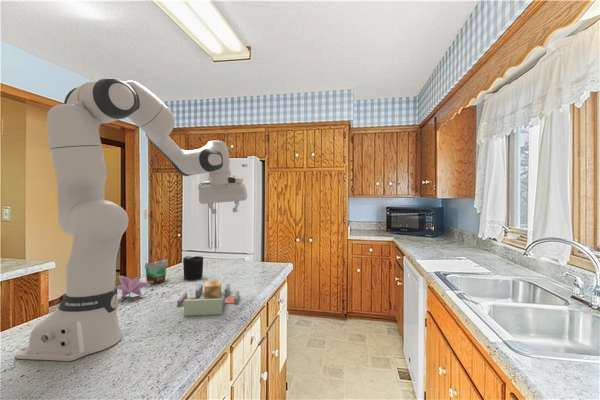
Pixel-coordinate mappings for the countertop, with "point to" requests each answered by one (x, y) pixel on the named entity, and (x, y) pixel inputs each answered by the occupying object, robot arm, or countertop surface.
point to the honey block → (212, 289)
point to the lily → (131, 286)
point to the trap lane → (206, 303)
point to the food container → (156, 271)
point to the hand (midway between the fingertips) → (224, 212)
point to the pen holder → (193, 268)
